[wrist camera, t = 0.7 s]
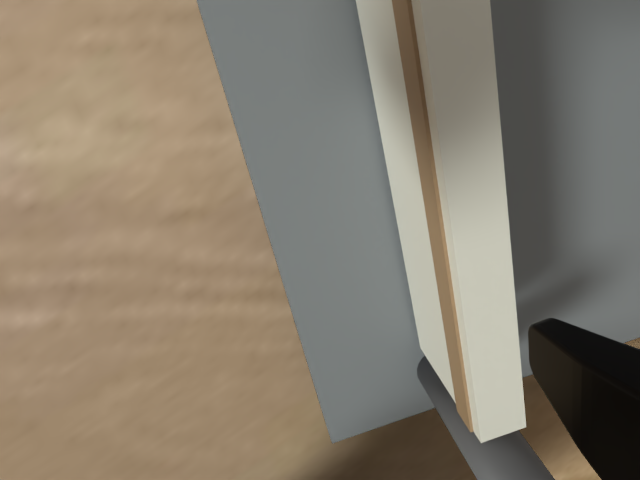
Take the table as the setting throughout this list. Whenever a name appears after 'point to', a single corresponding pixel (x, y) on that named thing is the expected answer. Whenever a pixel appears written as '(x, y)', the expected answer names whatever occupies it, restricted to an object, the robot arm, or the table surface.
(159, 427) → the table surface
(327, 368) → the board
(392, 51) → the gate
